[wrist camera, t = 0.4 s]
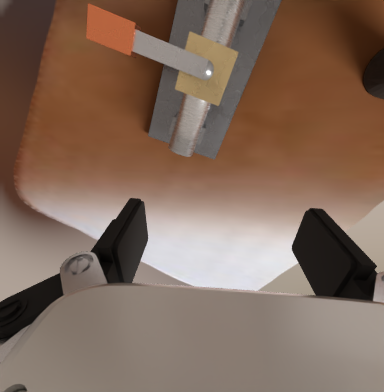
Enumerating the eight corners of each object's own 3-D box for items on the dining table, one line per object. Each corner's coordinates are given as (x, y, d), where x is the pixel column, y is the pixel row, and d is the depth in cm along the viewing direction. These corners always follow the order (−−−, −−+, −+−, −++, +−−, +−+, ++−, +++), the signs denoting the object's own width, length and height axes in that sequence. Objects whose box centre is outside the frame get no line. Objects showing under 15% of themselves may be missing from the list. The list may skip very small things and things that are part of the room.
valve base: (191, -49, 26) (184, -116, 18) (281, -6, 28) (316, -48, 19) (150, 134, 39) (134, 147, 30) (214, 157, 40) (216, 175, 32)
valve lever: (216, 60, 24) (218, 57, 21) (208, 87, 25) (208, 86, 23) (101, 12, 22) (88, 3, 20) (98, 43, 24) (86, 38, 21)
